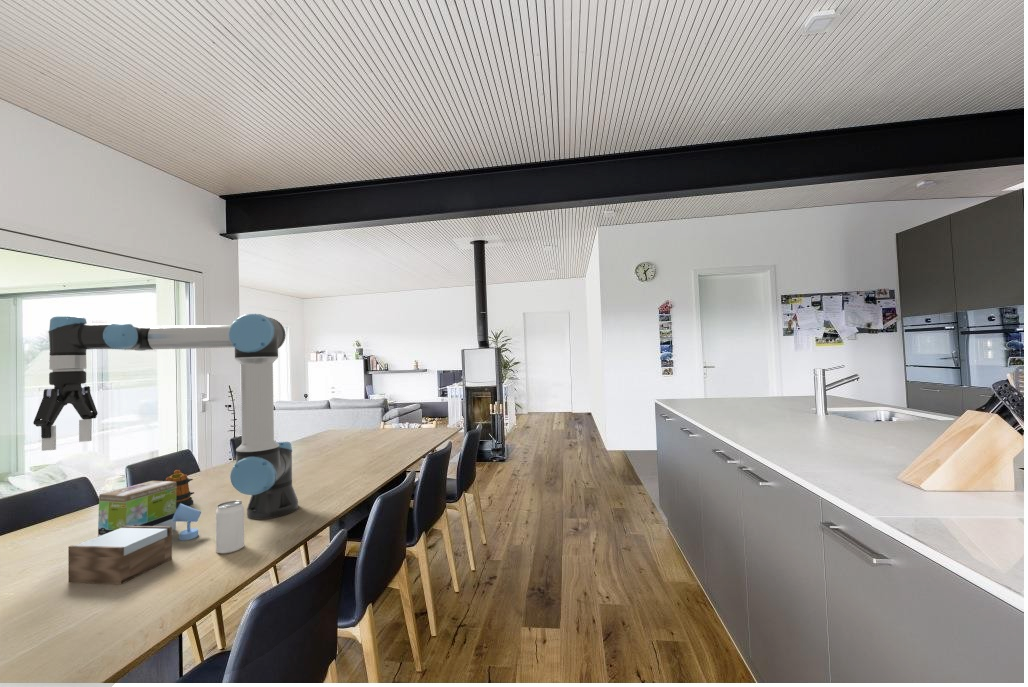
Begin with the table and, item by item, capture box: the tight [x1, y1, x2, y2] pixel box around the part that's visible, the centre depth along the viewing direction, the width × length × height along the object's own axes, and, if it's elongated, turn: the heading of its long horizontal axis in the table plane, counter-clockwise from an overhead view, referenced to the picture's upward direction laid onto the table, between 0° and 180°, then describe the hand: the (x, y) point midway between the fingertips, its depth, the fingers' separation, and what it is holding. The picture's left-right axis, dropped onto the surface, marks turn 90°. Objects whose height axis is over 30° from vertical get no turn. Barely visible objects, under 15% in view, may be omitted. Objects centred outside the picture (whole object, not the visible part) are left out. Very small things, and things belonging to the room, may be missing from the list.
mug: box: [165, 469, 195, 510], centre depth 160 cm, size 13×10×12 cm
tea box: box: [97, 480, 177, 537], centre depth 130 cm, size 15×10×15 cm, turn 168°
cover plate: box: [74, 528, 167, 556], centre depth 110 cm, size 13×11×2 cm
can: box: [215, 500, 245, 555], centre depth 120 cm, size 6×6×12 cm
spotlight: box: [172, 503, 202, 541], centre depth 129 cm, size 5×10×7 cm
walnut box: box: [67, 526, 173, 585], centre depth 110 cm, size 14×13×8 cm
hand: (68, 445), depth 127 cm, fingers open, 13 cm apart
